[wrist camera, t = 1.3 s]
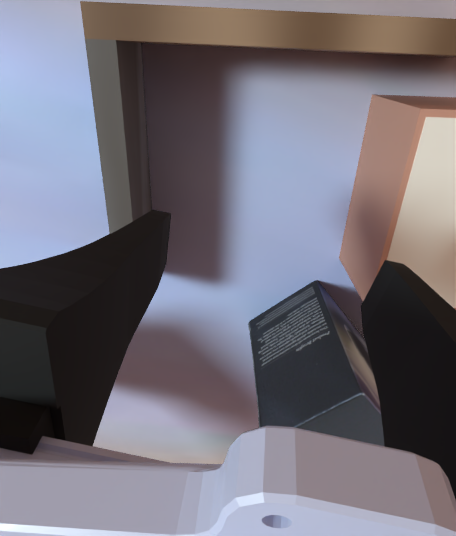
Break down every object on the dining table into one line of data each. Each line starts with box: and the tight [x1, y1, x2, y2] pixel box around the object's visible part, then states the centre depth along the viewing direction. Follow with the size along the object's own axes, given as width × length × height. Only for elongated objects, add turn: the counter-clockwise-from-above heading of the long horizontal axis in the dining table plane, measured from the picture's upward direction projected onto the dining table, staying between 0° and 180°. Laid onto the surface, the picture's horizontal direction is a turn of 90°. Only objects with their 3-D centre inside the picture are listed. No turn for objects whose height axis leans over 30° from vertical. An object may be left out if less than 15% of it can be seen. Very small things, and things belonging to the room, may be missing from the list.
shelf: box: [80, 1, 456, 234], centre depth 20 cm, size 17×14×5 cm
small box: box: [248, 280, 385, 447], centre depth 25 cm, size 11×6×10 cm, turn 39°
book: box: [339, 95, 456, 310], centre depth 20 cm, size 5×10×6 cm, turn 178°
